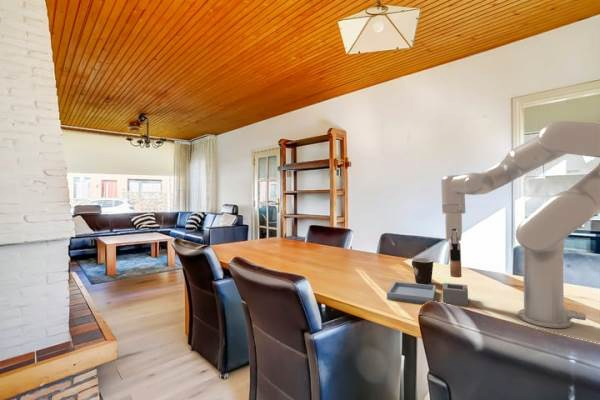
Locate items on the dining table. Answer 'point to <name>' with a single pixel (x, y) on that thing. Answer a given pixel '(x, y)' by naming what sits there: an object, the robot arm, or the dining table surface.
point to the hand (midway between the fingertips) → (455, 259)
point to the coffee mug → (423, 270)
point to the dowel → (455, 265)
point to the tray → (411, 292)
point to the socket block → (455, 293)
